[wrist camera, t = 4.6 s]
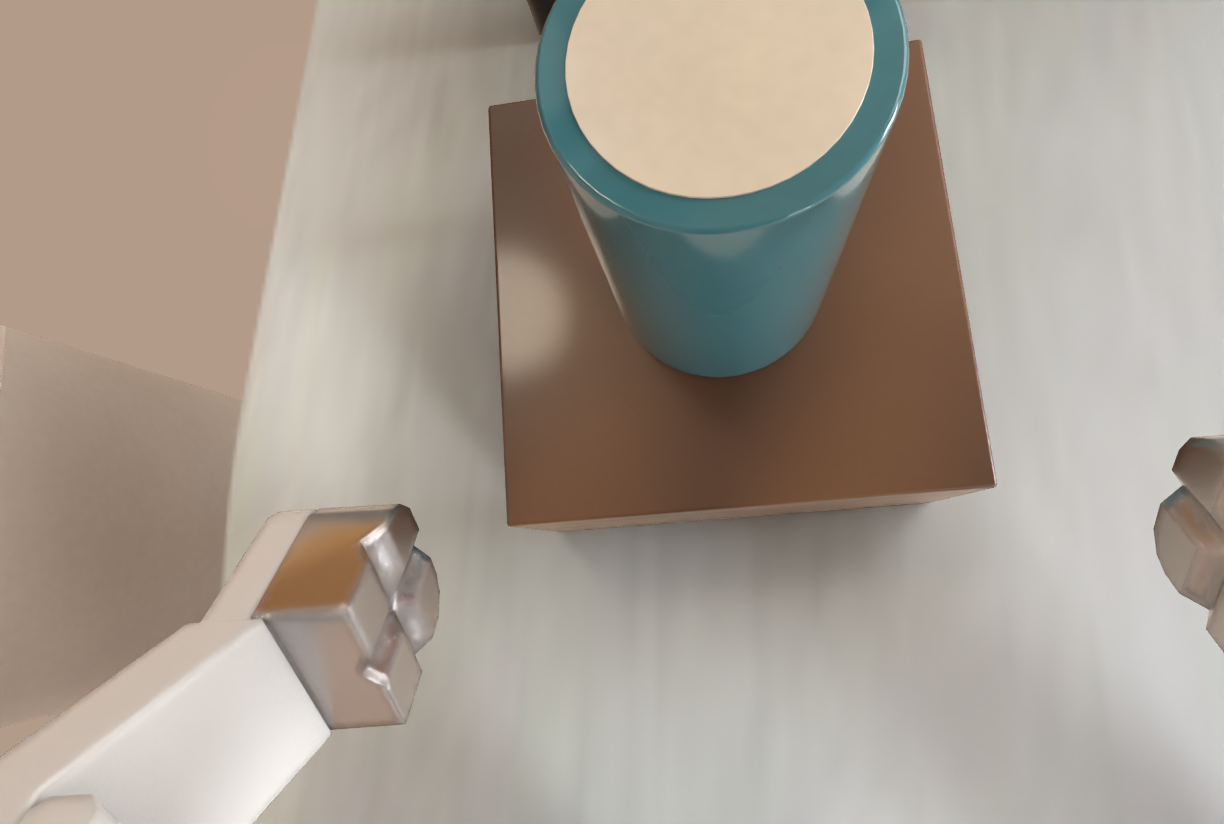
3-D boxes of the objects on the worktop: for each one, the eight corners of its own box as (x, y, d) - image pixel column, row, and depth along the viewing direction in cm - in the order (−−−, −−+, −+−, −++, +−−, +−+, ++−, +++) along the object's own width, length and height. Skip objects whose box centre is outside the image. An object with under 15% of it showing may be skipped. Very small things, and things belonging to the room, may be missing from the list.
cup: (623, 388, 19) (541, 254, 11) (609, 196, 20) (523, -73, 12) (837, 366, 19) (941, 203, 10) (811, 168, 20) (882, -140, 11)
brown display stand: (556, 532, 25) (506, 526, 19) (537, 200, 27) (487, 105, 21) (930, 502, 24) (998, 487, 18) (876, 153, 26) (922, 37, 20)
